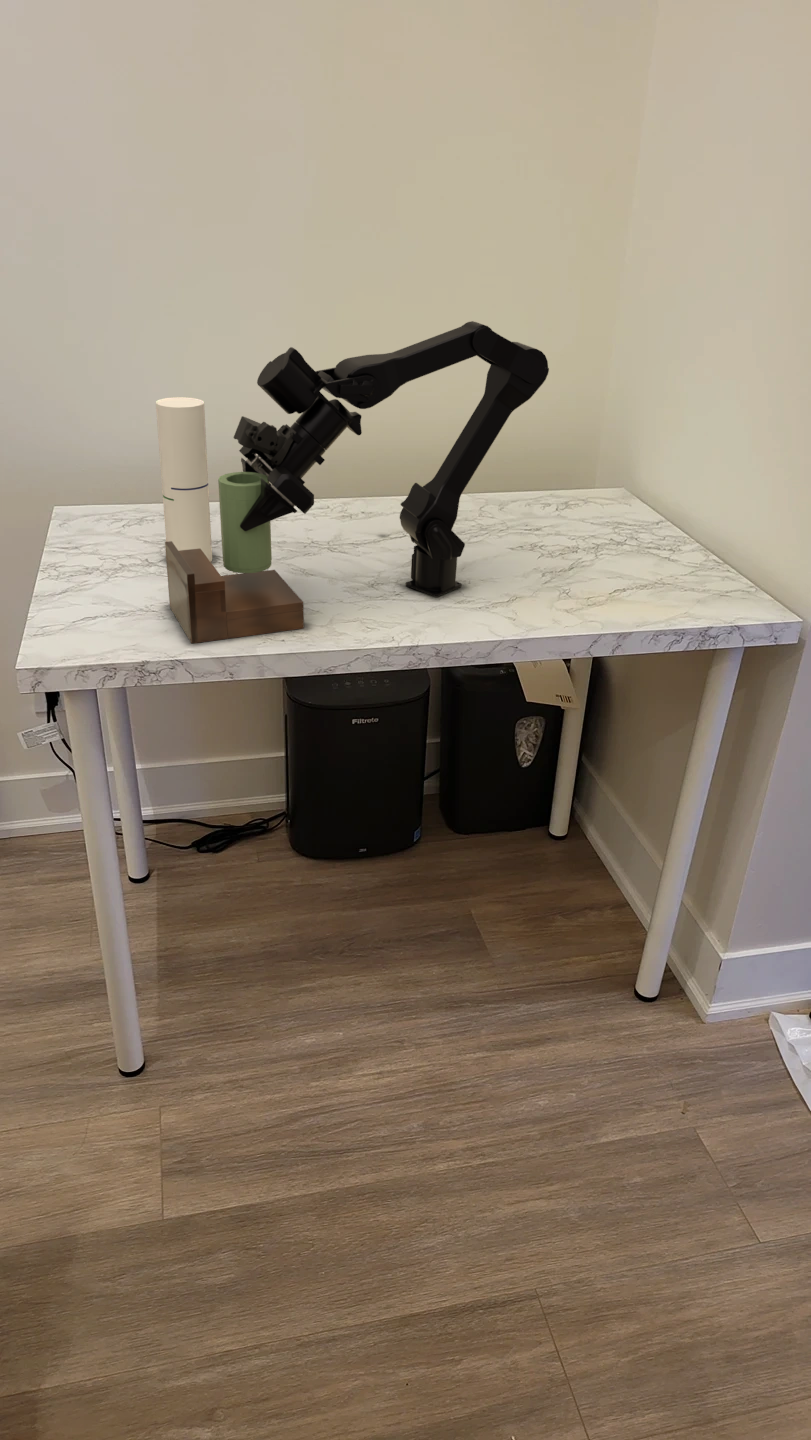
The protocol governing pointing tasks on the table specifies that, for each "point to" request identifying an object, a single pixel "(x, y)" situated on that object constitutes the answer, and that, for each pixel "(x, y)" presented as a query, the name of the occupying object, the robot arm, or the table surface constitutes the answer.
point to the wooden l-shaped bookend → (227, 599)
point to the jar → (235, 502)
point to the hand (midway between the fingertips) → (235, 520)
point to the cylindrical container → (184, 473)
